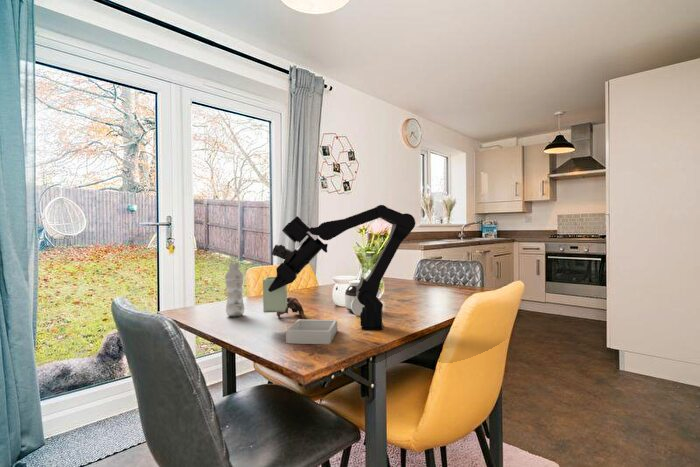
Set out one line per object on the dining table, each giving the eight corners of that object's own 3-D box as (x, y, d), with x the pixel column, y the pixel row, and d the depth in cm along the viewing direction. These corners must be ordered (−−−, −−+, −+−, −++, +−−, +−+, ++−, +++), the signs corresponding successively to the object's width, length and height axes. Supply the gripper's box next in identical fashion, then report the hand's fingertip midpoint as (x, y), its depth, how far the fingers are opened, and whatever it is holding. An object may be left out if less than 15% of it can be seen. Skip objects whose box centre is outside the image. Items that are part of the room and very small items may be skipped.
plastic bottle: (241, 318, 129) (240, 263, 129) (223, 318, 129) (221, 263, 129) (247, 314, 136) (245, 261, 135) (229, 314, 136) (228, 262, 135)
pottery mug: (304, 321, 125) (292, 302, 123) (281, 332, 126) (269, 314, 125) (309, 305, 136) (298, 288, 135) (288, 316, 138) (277, 298, 136)
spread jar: (361, 307, 143) (361, 278, 143) (381, 312, 134) (381, 281, 134) (338, 312, 135) (337, 282, 135) (357, 318, 126) (357, 285, 126)
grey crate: (337, 331, 111) (337, 319, 111) (330, 344, 98) (329, 331, 98) (298, 330, 112) (297, 319, 112) (286, 343, 100) (285, 330, 100)
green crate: (287, 307, 115) (286, 276, 115) (285, 311, 109) (284, 279, 109) (266, 307, 115) (266, 277, 115) (263, 312, 108) (262, 280, 108)
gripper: (289, 235, 121) (257, 268, 120) (283, 236, 102) (245, 275, 102) (313, 257, 122) (281, 290, 121) (311, 262, 103) (273, 301, 102)
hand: (270, 289), depth 111 cm, fingers closed on green crate, 6 cm apart
